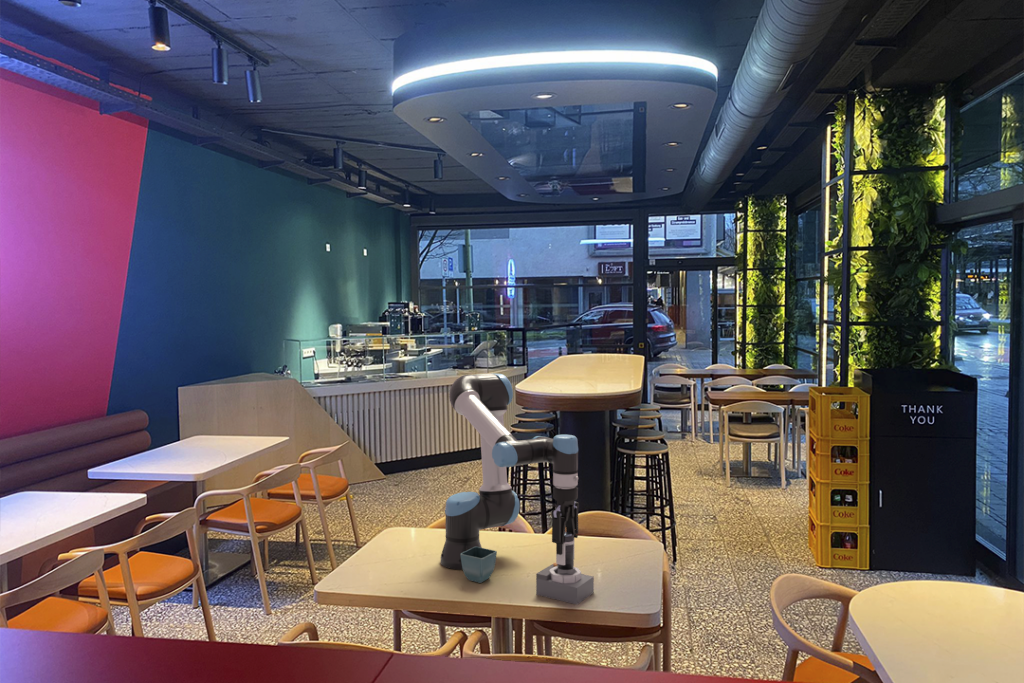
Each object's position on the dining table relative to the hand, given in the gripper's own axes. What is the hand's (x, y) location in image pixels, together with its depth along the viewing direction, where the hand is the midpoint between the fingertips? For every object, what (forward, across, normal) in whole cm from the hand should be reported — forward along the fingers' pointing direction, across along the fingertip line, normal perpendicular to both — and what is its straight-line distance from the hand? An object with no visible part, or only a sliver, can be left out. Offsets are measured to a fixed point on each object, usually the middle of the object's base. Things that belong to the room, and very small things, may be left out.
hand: (565, 561), depth 218 cm
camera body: (+10, 0, 0) cm, 10 cm away
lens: (+2, 0, 0) cm, 2 cm away
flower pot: (+10, -5, +29) cm, 31 cm away
